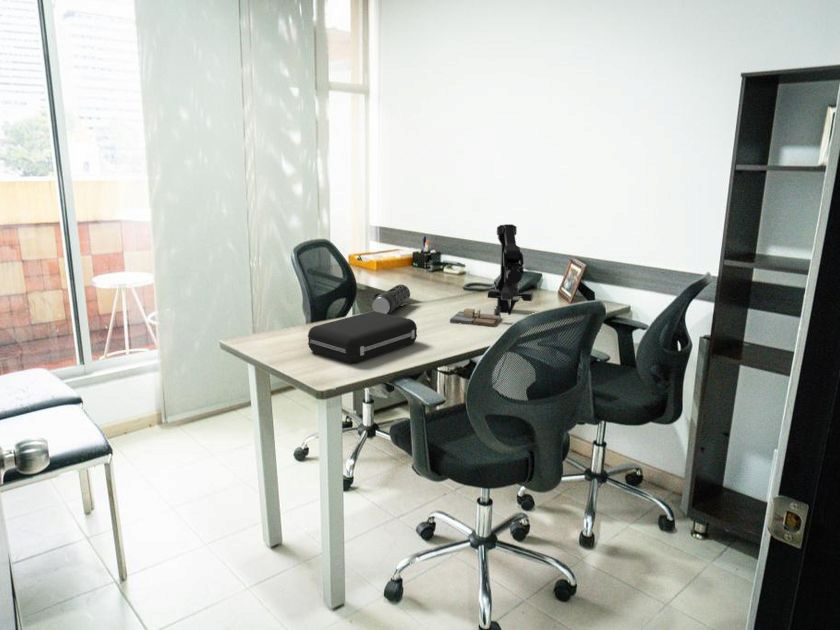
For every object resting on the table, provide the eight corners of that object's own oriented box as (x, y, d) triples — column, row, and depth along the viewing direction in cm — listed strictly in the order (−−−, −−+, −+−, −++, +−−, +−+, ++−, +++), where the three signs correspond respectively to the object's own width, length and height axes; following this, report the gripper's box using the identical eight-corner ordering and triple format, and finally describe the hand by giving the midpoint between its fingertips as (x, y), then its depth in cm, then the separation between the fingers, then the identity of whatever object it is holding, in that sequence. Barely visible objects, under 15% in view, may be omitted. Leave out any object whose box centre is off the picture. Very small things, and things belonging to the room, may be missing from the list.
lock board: (459, 314, 283) (459, 311, 282) (500, 318, 277) (500, 315, 276) (449, 322, 269) (449, 319, 269) (492, 326, 263) (493, 323, 263)
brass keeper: (465, 315, 276) (466, 308, 275) (480, 316, 274) (480, 309, 273) (463, 317, 272) (463, 310, 272) (478, 318, 270) (478, 311, 269)
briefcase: (362, 329, 259) (362, 305, 257) (420, 344, 240) (421, 319, 237) (293, 349, 232) (292, 323, 230) (353, 367, 213) (352, 339, 210)
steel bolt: (481, 316, 273) (482, 304, 271) (500, 318, 270) (500, 306, 269) (480, 317, 271) (480, 306, 269) (499, 319, 268) (499, 307, 267)
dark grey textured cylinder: (410, 305, 300) (410, 284, 297) (391, 319, 274) (390, 296, 271) (392, 304, 302) (392, 283, 300) (370, 318, 276) (370, 295, 274)
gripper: (485, 280, 259) (483, 317, 263) (529, 284, 253) (528, 321, 257) (491, 276, 269) (490, 311, 273) (534, 279, 263) (532, 314, 267)
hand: (509, 314), depth 267 cm, fingers closed
